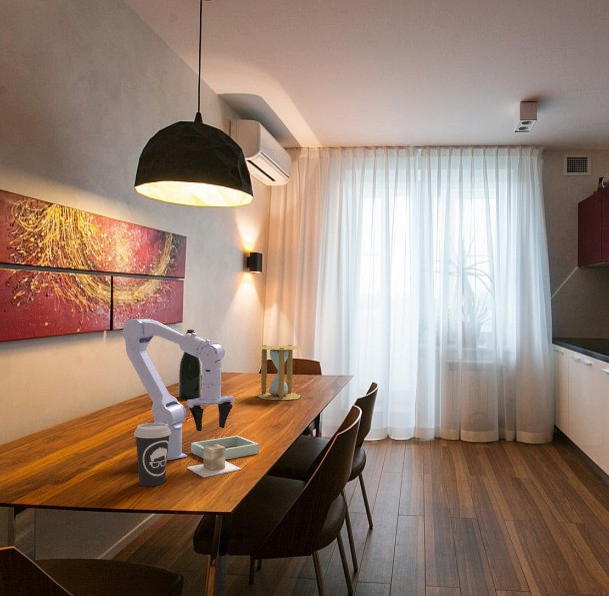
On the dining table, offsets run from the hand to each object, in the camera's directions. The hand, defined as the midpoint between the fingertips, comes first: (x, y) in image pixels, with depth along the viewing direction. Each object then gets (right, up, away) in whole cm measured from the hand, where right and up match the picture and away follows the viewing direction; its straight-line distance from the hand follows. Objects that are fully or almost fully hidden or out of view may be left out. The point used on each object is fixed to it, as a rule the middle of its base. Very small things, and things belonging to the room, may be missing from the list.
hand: (210, 428), depth 171 cm
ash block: (+2, -9, -9) cm, 13 cm away
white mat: (+2, -10, -9) cm, 13 cm away
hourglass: (+16, -10, +110) cm, 112 cm away
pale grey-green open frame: (+3, -10, +8) cm, 13 cm away
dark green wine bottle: (-27, -9, +104) cm, 108 cm away
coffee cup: (-12, -10, -21) cm, 26 cm away
